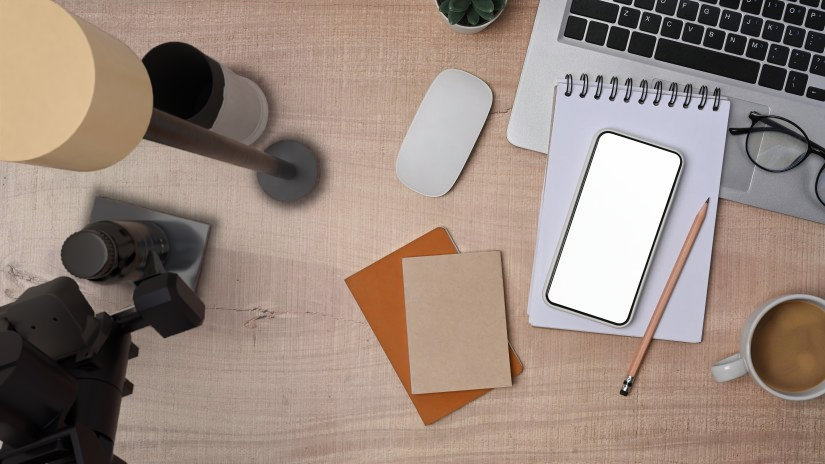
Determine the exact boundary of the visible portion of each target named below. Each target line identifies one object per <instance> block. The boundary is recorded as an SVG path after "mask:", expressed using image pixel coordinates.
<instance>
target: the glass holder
mask: <svg viewBox="0 0 825 464" xmlns="http://www.w3.org/2000/svg"><path fill="white" fill-rule="evenodd" d="M140 60H141V61H142V63H143V65H144V66H145V68H146V70H147V73H148V75H149V78H150V82H151V86H152V93H153V107H154V108H157V109H159V110H161V111H164V112H166V113H169V114H171V115H174V116H176V117H179V118H181V119H184V120H186V121H189V122H191V123H193V124H196V125H198V126H201V127H203V128H206V129H208V130H211V131H213V132H216V133H218V134H221V135H223V136H225V137H228V138H230V139H233V140H235V141H238V142H240V143H243V144H245V145H248V146H251V145H252V144H254V143H255V142H256V141H258V140H259V138H260V137H261V136H262V135H263V133H264V132H265V130H266V127H267V126H268V125H267V124H268V121H269V115H270V114H269V103H268V100H267V97H266V95H265V93H264V91H263V90H262V89H261V88H260V86H259V85H258V84H257V83H256V82H254V81H253V80H251V79H250V78H248V77H245V76H243V75H239V74H236V73H235V72H234V71H232V70H231V69H230V68H229V67H227V66H226V65H224V64H223V63H221V62H220V61H219V60H217V59H215V58H214V57H212V56H210V55H208V54H206V53H204V52H203V51H202V50H201V49H199V48H198V47H196V46H194V45H192V44H190V43H187V42H185V41H184V42H183V41H166V42H163V43H160V44H157V45H156V46H154V47H152V48H151V49H150V50H149V51H148V52H146V53H145V54H144V56H143V57H142V58H141V59H140Z"/></svg>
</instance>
